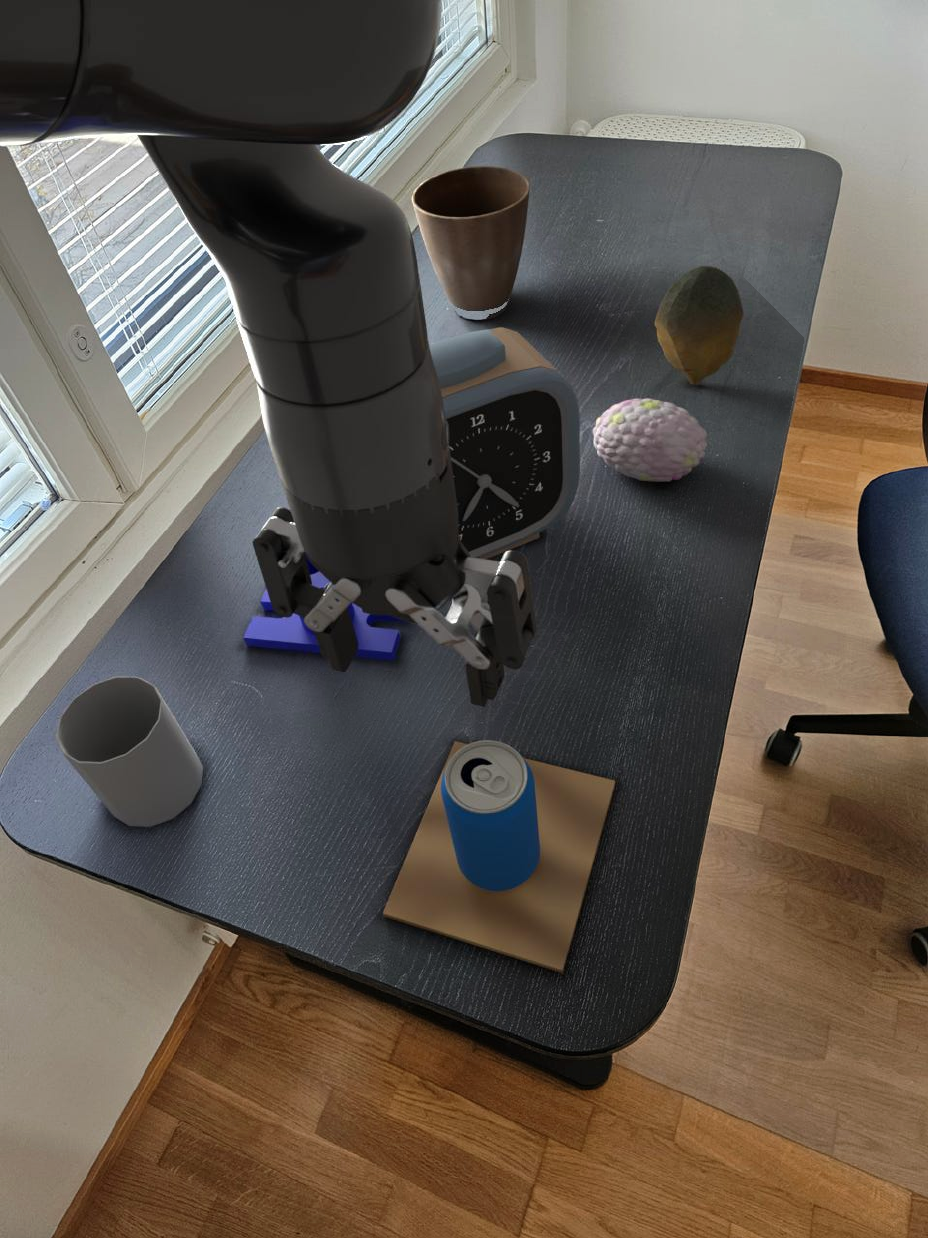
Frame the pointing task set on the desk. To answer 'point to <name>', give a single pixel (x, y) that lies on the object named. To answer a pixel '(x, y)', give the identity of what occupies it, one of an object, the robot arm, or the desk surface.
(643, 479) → the decorative item
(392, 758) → the desk surface
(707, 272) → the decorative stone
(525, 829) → the beverage can
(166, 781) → the cup
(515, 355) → the alarm clock
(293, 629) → the mount
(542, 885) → the cork mat
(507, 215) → the flower pot
